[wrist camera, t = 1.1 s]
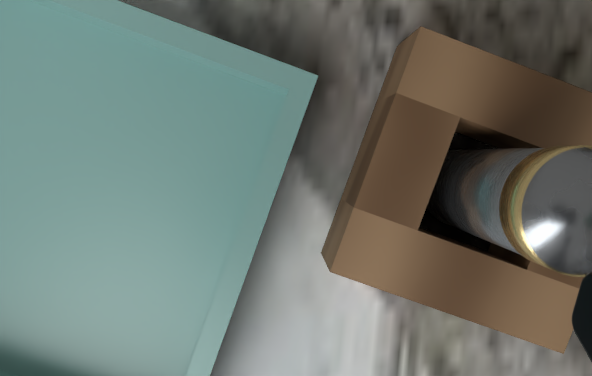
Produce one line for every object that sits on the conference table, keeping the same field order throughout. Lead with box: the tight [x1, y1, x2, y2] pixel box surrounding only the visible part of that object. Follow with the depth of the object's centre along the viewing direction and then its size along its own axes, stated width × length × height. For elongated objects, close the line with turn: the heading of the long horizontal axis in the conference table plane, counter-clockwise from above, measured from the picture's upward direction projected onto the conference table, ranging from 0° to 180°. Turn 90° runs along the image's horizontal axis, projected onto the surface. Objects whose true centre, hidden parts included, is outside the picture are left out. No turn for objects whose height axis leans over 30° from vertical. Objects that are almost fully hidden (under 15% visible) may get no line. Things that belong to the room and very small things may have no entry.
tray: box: [0, 0, 318, 376], centre depth 20 cm, size 16×16×3 cm
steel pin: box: [426, 145, 592, 277], centre depth 18 cm, size 3×3×9 cm
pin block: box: [321, 27, 592, 354], centre depth 21 cm, size 9×9×4 cm
